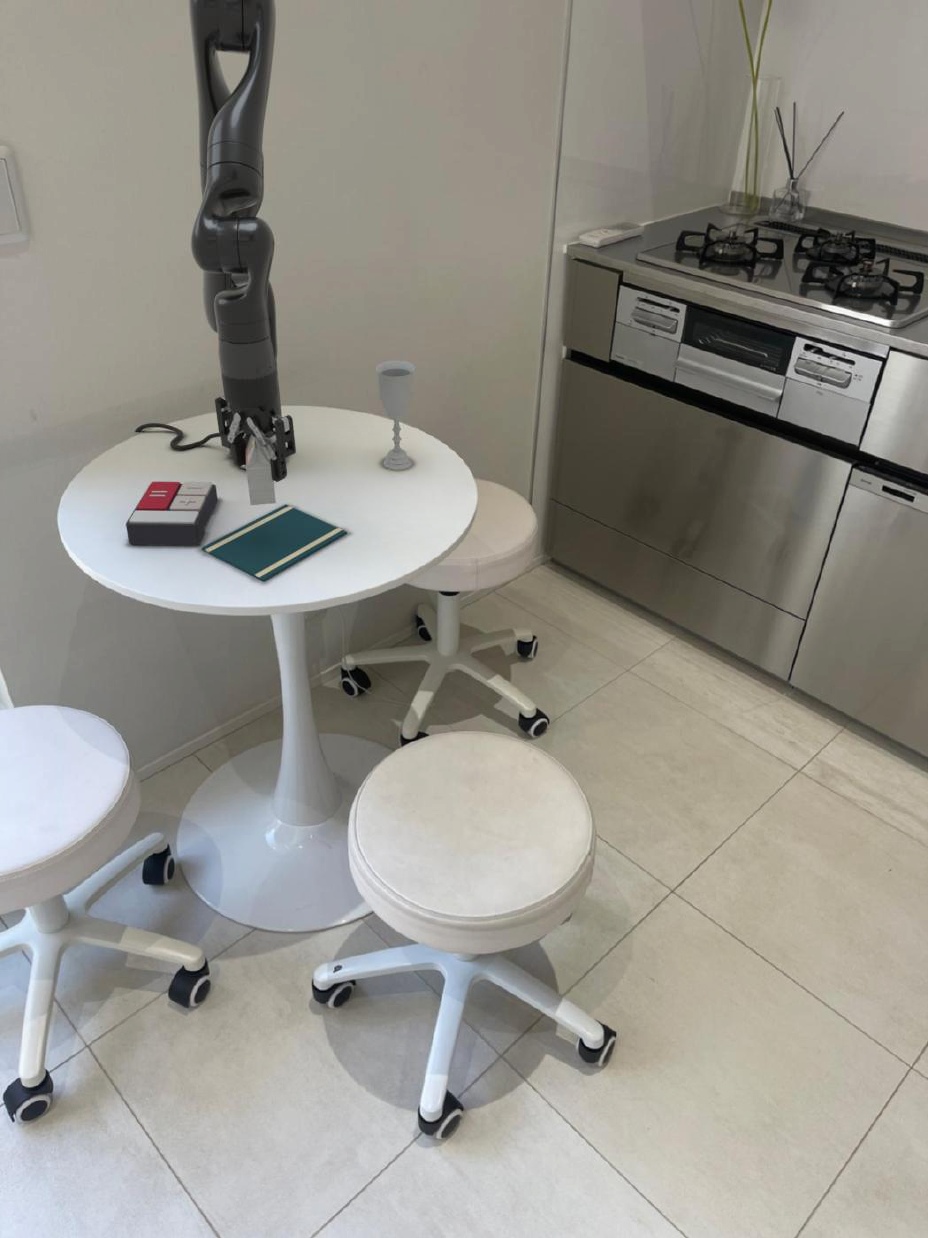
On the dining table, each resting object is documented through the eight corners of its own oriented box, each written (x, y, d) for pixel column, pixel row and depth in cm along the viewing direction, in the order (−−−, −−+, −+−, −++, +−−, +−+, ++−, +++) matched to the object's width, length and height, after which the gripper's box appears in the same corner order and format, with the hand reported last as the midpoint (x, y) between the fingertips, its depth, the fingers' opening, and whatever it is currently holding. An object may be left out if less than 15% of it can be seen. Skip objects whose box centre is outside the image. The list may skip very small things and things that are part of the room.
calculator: (215, 479, 160) (195, 520, 147) (218, 502, 162) (199, 545, 150) (149, 478, 160) (124, 519, 147) (153, 502, 162) (128, 544, 149)
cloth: (201, 549, 149) (201, 547, 149) (285, 506, 161) (285, 503, 160) (263, 581, 142) (263, 579, 142) (347, 533, 154) (346, 531, 154)
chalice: (410, 474, 171) (409, 378, 160) (373, 470, 172) (370, 374, 161) (420, 456, 177) (419, 362, 166) (384, 452, 178) (382, 358, 167)
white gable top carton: (273, 482, 149) (267, 422, 143) (275, 503, 144) (269, 441, 138) (249, 484, 148) (242, 424, 143) (250, 505, 143) (243, 443, 137)
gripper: (303, 371, 134) (312, 476, 143) (233, 348, 140) (246, 450, 150) (263, 387, 129) (275, 495, 138) (193, 362, 135) (209, 467, 145)
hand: (260, 471), depth 144 cm, fingers closed on white gable top carton, 7 cm apart
